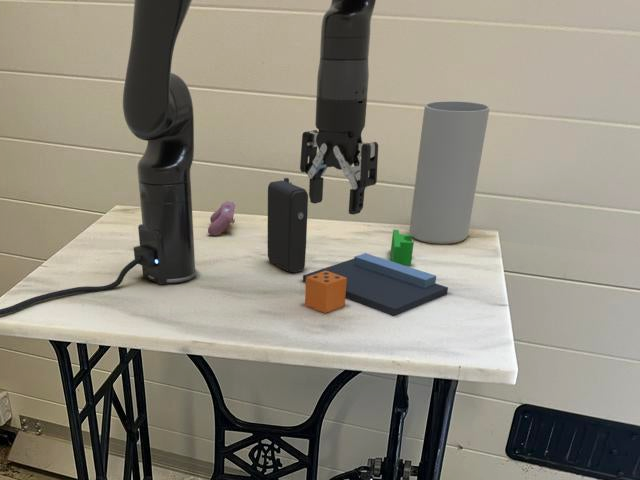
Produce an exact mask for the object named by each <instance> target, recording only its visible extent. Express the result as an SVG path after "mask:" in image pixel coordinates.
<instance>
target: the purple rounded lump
mask: <svg viewBox="0 0 640 480" xmlns="http://www.w3.org/2000/svg"><path fill="white" fill-rule="evenodd" d="M235 208H236V204H235V203H234V202H233V201H228V200H226V201H223V202H222V203H221V205H220V207H219V208H218V209H217V210H215V211H214V212H213V213H212V214H211V216H210V217H209V220H210V223H211V224H209V226H208V228H207V234H209V235H210V236H216V235H220V234H221V233H222V232H223V233H226V231H227V230H228V228H229V226H231V224H232V225H233V224H235V221H236V219H235V218H234V216H235Z"/></svg>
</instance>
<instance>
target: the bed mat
mask: <svg viewBox="0 0 640 480" xmlns="http://www.w3.org/2000/svg"><path fill="white" fill-rule="evenodd" d="M323 271H329V272H332V273H335V274H337V275H340V276H343V277H346V278H347V283H346V296H345V299H349V300H350V301H351V300H352V301H354V302H357V303H360V304H362V305H364V306H368V307H370V308H373V309H376V310H378V311H381V312H383V313H386V314H389V315H391V316H396V315H399V314H401V313H404V312H407V311H409V310H411V309H414V308H416V307H418V306H421V305H423V304H425V303H429V302H430V301H433V300H435V299H437V298H441V297H443V296H446V295H448V290H449V287H448V286H445V285H443V284H439V283H437V282H436V281H437V275H435V274H432V273H429V272H426V271H424V270H420V269H416V268H414V267H411V266H404V265H401V264H398V263H395V262H392V261H391V260H388V259H385V258H382V257H380V256H376V255H373V254H370V253H366V252H364V253H361V254H358V255H355V256H354V258H351V259H349V260H345V261H342V262H339V263H336V264H333V265H330V266H326V267H324V268H320V269H318V270H315V271H312V272H309V273H306V274H303V275H302V282H304V283H306V277H308V276H311V275H314V274H317V273H320V272H323Z"/></svg>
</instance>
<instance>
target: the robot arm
mask: <svg viewBox="0 0 640 480" xmlns="http://www.w3.org/2000/svg"><path fill="white" fill-rule="evenodd" d="M192 2H193V0H134V3H133V15H132V17H133V18H132V29H131V39H130V40H131V41H130V46H129V47H130V48H129V54H128V61H127V65H126V66H127V67H126V72H125V79H124V85H123V94H122V112H123V116H124V117H123V118H124V120H125V123H126V125H127V127H128V129H129V130H130V132H131V133H132V134H133V135H134V136H135V137H136V138H137V139H139V140H141V141H146V142H147V143H146V147H145V151H144V153H143V155H142V156H141V157H140V159H139V160H138V163H137V179H138V190H139V201H140V212H141V224H138V226H137V228H138V230H137V231H138V240H139V245H138V246H134V247H133V254H134V255H133V256H134V259H133V260H132V261H130V262H129V263H127V264H126V266H124V267H123V268H122V269H121V271H120V272H119V275H118V276H117V279H116V280H115V281H113V282H111V283H109V284H106V285H98V286H97V285H95V286H92V285H91V286H90V285H89V286H87V285H86V286H76V287H71V288H66V289H61V290H56V291H52V292H48V293H44V294H40V295H36V296H34V297H31V298H27V299H25V300H23V301H20V302H18V303H16V304H13V305H10V306H6V307H3V308H0V316H3V315H7V314H10V313H13V312H16V311H19V310H21V309H24V308H25V307H28V306H30V305H33V304H36V303H40V302H44V301H47V300H51V299H54V298H59V297H63V296H69V295H73V294H80V293H97V292H106V291H110V290H113V289H116V288H117V287H119V286H120V285H121V284H122V282H123V281H124V278H125V276H126V275H127V273H128V272H130V271H131V270H132V269H133V268H134V267H136V266H138V265H140V266H141V272H142V277H143V278H145V279H148V280H149V281H152V282H154V283H157V284H159V285H161V286H162V285H165V284H179V283H184V282H188V281H190V280H193V278H195V277H196V275H197V269H196V259H195V258H196V255H195V239H194V238H195V237H194V219H193V201H192V179H191V176H192V175H191V169H192V165H193V162H194V156H195V120H194V119H195V117H194V105H193V99H192V95H191V92H190V89H189V87H188V85H187V84H186V82H185V81H184V79H182V77H180V76H179V75H177V74H175V73H172V63H173V57H174V56H173V55H174V51H175V46H176V43H177V40H178V36H179V33H180V32H181V28H182V26H183V24H184V22H185V19H186V17H187V15H188V12H189V10H190V8H191V4H192ZM376 2H377V0H331V2H330V7H329V8H328V10H326V12H325V13H324V14H323V16H322V20H321V27H320V44H319V45H320V48H319V63H318V70H317V78H316V98H315V99H316V103H315V106H316V107H315V122H314V123H315V125H314V126H315V127H316V129H314V130H307V131H304V132H303V133H302V136H301V146H300V147H301V148H300V149H301V150H300V161H299V170H300V172H301V173H305V174H306V175H307V177H308V178H309V182H308V183H309V186H308V187H309V188H308V198H309V202H310V204H319V203H322V201H323V197H324V177H322V176H324V174H325V172H326V171H327V169H328V168H335V169H336V170H338V171H339V170H341V171H342V173H343V175H344V177H346V178H347V179H348V180H347V181H348V182H349V184H350V189H349V199H348V214H350V215H357V214H361V211H363V208H364V201H365V200H364V199H365V191H366V188H367V187H370V186H371V187H372V186H374V185H376V184H377V181H378V162H379V143H378V142H377V141H372V142H364V141H363V138H362V132H363V130H364V128H365V126H366V119H367V118H366V117H367V103H368V92H369V78H370V77H369V76H370V73H369V69H370V68H369V55H370V43H371V24H372V18H373V13H374V9H375V7H376Z"/></svg>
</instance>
